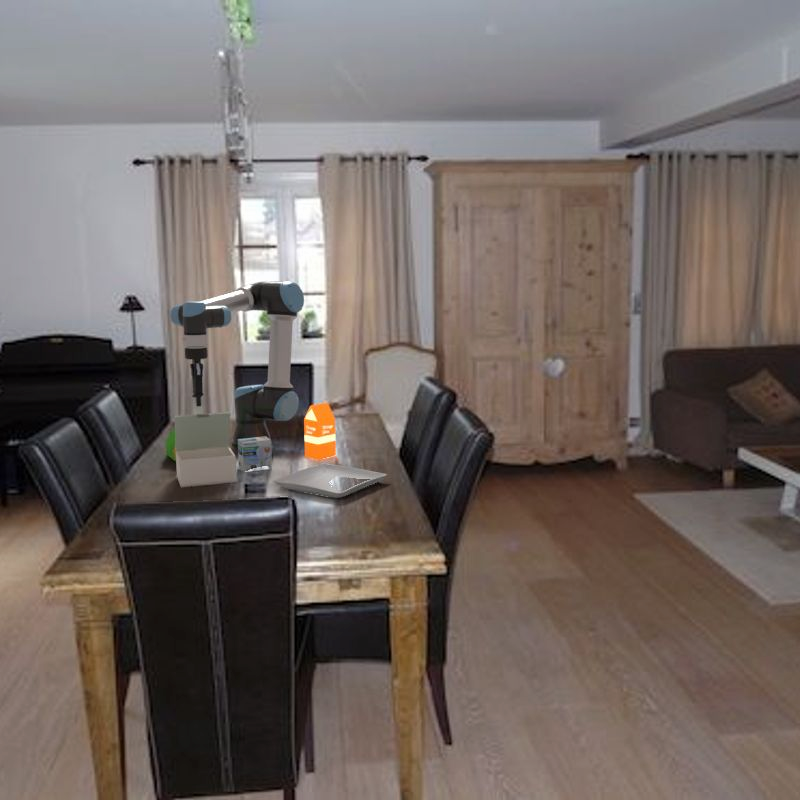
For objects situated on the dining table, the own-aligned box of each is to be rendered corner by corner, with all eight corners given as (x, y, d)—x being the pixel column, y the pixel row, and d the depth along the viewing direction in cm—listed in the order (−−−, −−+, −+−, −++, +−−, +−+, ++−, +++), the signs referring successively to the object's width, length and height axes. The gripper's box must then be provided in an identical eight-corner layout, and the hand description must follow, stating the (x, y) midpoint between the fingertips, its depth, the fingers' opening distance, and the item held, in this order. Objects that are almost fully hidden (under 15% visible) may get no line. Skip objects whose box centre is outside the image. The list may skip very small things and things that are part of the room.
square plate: (340, 504, 246) (339, 492, 245) (271, 491, 260) (270, 479, 260) (388, 483, 268) (388, 472, 268) (322, 472, 283) (322, 461, 282)
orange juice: (336, 456, 304) (335, 403, 301) (318, 460, 298) (317, 406, 294) (322, 452, 309) (321, 401, 306) (304, 456, 303) (303, 404, 300)
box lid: (229, 446, 281) (228, 444, 281) (230, 413, 273) (229, 411, 274) (175, 450, 275) (175, 449, 275) (175, 416, 267) (174, 415, 268)
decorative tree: (171, 433, 288) (172, 414, 316) (160, 462, 289) (161, 441, 317) (202, 443, 291) (200, 423, 320) (191, 472, 292) (190, 450, 321)
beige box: (230, 471, 282) (229, 446, 281) (236, 482, 270) (235, 455, 268) (176, 476, 276) (175, 451, 275) (180, 487, 263) (179, 460, 262)
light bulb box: (243, 473, 281) (242, 442, 279) (237, 468, 287) (236, 438, 285) (273, 469, 286) (271, 439, 284) (266, 465, 292) (265, 435, 290)
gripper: (182, 345, 281) (185, 412, 285) (186, 349, 269) (189, 419, 273) (204, 344, 283) (207, 411, 287) (209, 348, 271) (212, 417, 275)
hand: (198, 414), depth 280 cm, fingers closed
